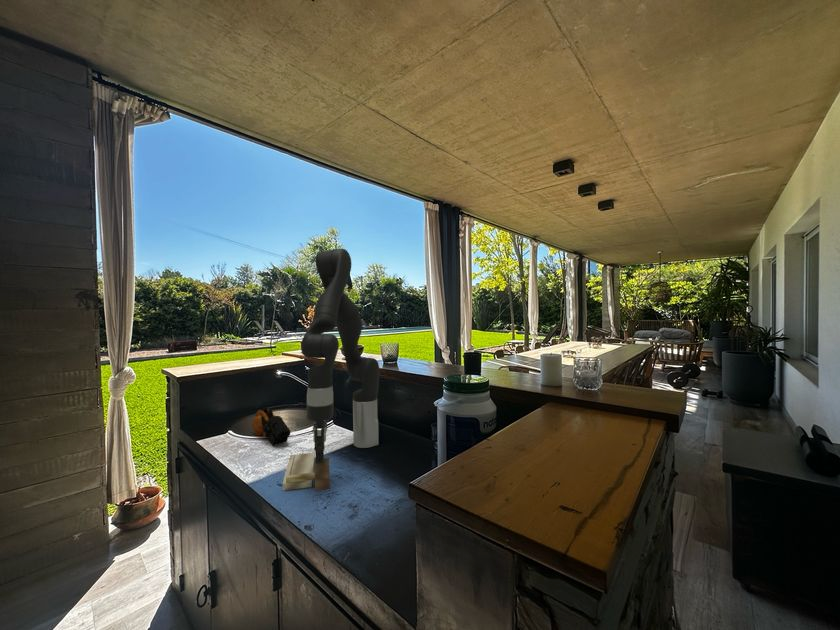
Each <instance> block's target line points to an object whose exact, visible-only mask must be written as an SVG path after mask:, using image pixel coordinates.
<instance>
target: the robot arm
mask: <svg viewBox="0 0 840 630" xmlns="http://www.w3.org/2000/svg"><path fill="white" fill-rule="evenodd" d="M314 263H315V267H316V270H317V273H318V276H319V279H320V281H321V283H322V286H323V288H324V291H322V293H321V295H320V296H319V297H318V299H317V301H316V303H315V304H316V305H315V308H314V311H313V317H312V321H311V323H310V325H309V327H308V329H307V330H306V331H305V333H304V336H303V337H302V340H301V344H300V351H301V354H302V355H303V356H304V357H305V358H309V359H324V361H323V363H321V364H319V365H318V364H317V365H314V366H310V367H309V368H308V370H307V390H306V419H307V420H308V421H310V422H314V423H313V426H312V433H313V438H312V439H313V443H314V447H313V450H314V452H315V460H314V463H315V462H316V464H319V463H323V462H324V458H325V456H324V455H325V453H324V452H325V442H326V441H327V432H328V420H331V419H333V417H334V390H333V389H334V388H333V372H334V367H335V366H334V365H335V361H336V357H337V355H338V351H339V347H340V343H341V346H342V349H343V353H344V358H345V365H346V369H347V370H346V371H347V373H348V376H349V378H350V379H351V380H352V381H355V382H362V388H360V389H357V390H355V391H353V394H352V422H353V423H352V424H353V425H352V426H353V428H352V429H353V431H352V433H353V434H352V437H353V439H352V440H353V442H352V445H353V446H354V447H355V448H359V449H366V448H372V447H375V446H378V445H379V419H378V394H379V393H378V392H379V390H380V389H379V388H380V386H379V384H380V365H379V361H378V360H377V359H376V358H373V357H363V356H362V355H361V353H360V349H359V341H360V337H361V334H362V331H363V321H362V317H361V314H360V311H359V307H358V306H357V305H356V303H355V302H353V300H352V299H351V298H350V297H349V296H347V295H346V294H345V293H344V291H345V289H346V287H347V286H346V285H347V283H348V280H349V277H350V273H351V271H352V259H351V255H350V253H349V252H348V250H346V249H345V248H335V249H329V250H324V251H319V252H318V253H316V255H315V262H314ZM334 329H336V330H337V332H338V335H339V339H338V338H337V336H336V335H335V334H332V333H328V332H331V331H334ZM339 340H340V341H341V342H340V343H339ZM326 421H327V422H326Z"/></svg>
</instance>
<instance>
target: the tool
mask: <svg viewBox="0 0 840 630" xmlns="http://www.w3.org/2000/svg"><path fill="white" fill-rule="evenodd" d="M251 425H252V426H251V427H252V431H253V432H254V434H255V435H256V436H261V434H262V435H263V437H264V438H265V439H267V440H268V442H269V444H271V446H273V447H275V446H279V445H281V444H284V443H287V442H288V441H289V440H288V438H289V437H290V436H291V430H290V428H289V427H288V425H287V424H286V423H285V421H284V419H283V418H282V417H281V415H275V414H274V412H273V409H268V406H266V407H263V408H260V409H258V411H257V412H256V413H255V417H254V418H253V419H252V421H251Z"/></svg>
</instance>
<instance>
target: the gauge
mask: <svg viewBox="0 0 840 630" xmlns="http://www.w3.org/2000/svg"><path fill="white" fill-rule="evenodd" d="M306 480H312V481H314V491H315V492H317V491H323V490H325V491H326V490H329V489H330V457H324V462H323V463H319V464H316V462H315V461H314V471H313V473H306V474H298V475H290V476H286V483H290V482H298V481H306Z"/></svg>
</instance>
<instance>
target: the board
mask: <svg viewBox="0 0 840 630" xmlns="http://www.w3.org/2000/svg"><path fill="white" fill-rule="evenodd" d="M314 471H315V451H314V452H306V453H299V454H290V455H289V458H288V462H287V465H286V469H285V473H284V477H283V480H282V481H283V482H282V491H283V492H284V491H291V490H298V489H304V488H312V486H313V480H306V481H298V482H290V483H286V476H290V475H298V474H306V473H313V472H314Z"/></svg>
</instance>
